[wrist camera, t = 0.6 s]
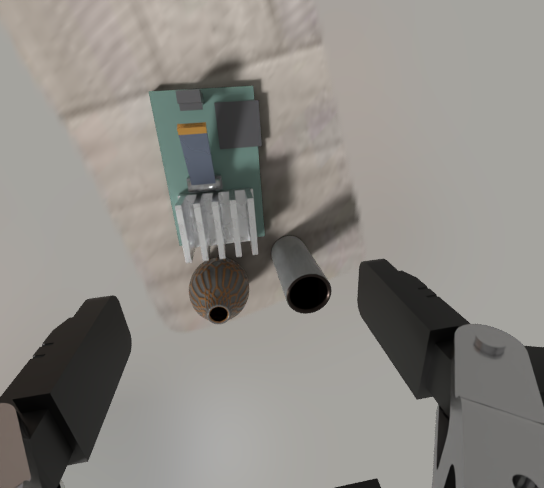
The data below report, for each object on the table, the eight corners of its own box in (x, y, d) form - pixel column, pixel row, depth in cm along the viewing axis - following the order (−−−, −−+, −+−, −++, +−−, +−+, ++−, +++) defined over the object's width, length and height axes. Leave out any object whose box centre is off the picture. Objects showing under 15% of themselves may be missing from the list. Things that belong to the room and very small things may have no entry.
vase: (244, 246, 37) (249, 280, 29) (249, 293, 40) (255, 337, 31) (188, 252, 36) (177, 290, 28) (197, 300, 39) (189, 346, 31)
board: (151, 92, 29) (148, 91, 28) (256, 86, 30) (257, 85, 29) (181, 241, 35) (179, 246, 34) (266, 232, 36) (268, 236, 35)
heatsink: (175, 178, 31) (167, 188, 27) (250, 171, 32) (254, 180, 28) (188, 244, 34) (182, 263, 30) (256, 236, 35) (261, 254, 31)
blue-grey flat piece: (172, 122, 25) (171, 130, 24) (210, 120, 25) (210, 127, 25) (189, 187, 31) (189, 195, 30) (220, 184, 31) (221, 192, 31)
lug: (181, 94, 28) (175, 90, 25) (202, 93, 29) (199, 88, 25) (184, 111, 29) (178, 110, 25) (204, 110, 29) (202, 109, 26)
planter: (311, 255, 39) (339, 299, 29) (281, 273, 39) (300, 321, 30) (295, 228, 37) (319, 265, 27) (264, 247, 37) (277, 289, 28)
